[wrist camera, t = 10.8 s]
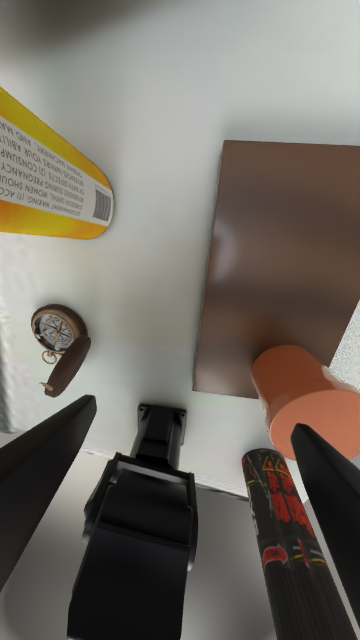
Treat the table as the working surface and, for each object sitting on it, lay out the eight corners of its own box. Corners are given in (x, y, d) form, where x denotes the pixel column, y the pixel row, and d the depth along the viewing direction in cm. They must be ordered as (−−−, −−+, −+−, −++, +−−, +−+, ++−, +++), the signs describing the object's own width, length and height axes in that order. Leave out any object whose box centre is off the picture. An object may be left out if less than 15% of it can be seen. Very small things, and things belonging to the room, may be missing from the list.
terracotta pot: (307, 402, 20) (355, 471, 14) (240, 394, 20) (259, 456, 14) (332, 345, 17) (406, 398, 11) (255, 336, 17) (285, 383, 11)
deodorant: (289, 471, 26) (389, 719, 12) (248, 478, 28) (298, 707, 14) (278, 444, 25) (382, 697, 11) (236, 453, 26) (278, 686, 12)
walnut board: (302, 394, 21) (311, 406, 20) (192, 380, 22) (192, 390, 20) (400, 160, 13) (429, 148, 12) (221, 152, 14) (224, 139, 12)
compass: (42, 293, 20) (-39, 315, 13) (108, 327, 21) (63, 366, 14) (29, 347, 23) (-43, 388, 16) (87, 375, 24) (42, 426, 17)
